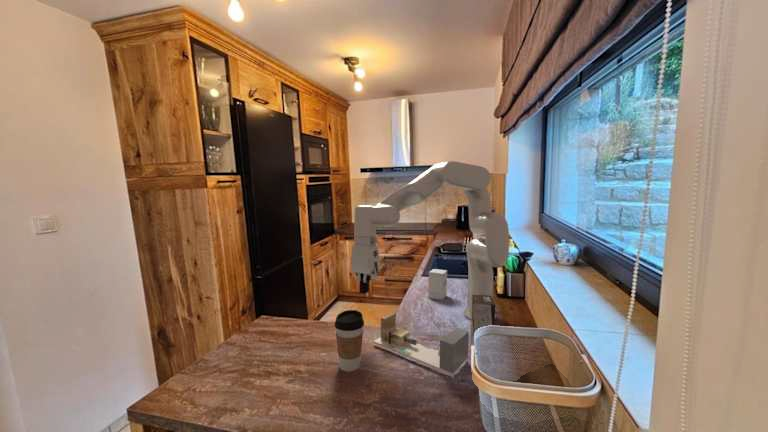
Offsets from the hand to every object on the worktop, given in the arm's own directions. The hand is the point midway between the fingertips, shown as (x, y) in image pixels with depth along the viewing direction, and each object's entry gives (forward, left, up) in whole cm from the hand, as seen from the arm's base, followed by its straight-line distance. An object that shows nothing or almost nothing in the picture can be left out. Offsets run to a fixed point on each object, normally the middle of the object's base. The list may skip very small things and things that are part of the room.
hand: (364, 292), depth 107 cm
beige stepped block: (0, +16, -13) cm, 20 cm away
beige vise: (0, +22, -15) cm, 27 cm away
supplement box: (-49, +2, -15) cm, 52 cm away
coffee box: (-16, +36, -15) cm, 43 cm away
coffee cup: (+18, +10, -15) cm, 25 cm away
